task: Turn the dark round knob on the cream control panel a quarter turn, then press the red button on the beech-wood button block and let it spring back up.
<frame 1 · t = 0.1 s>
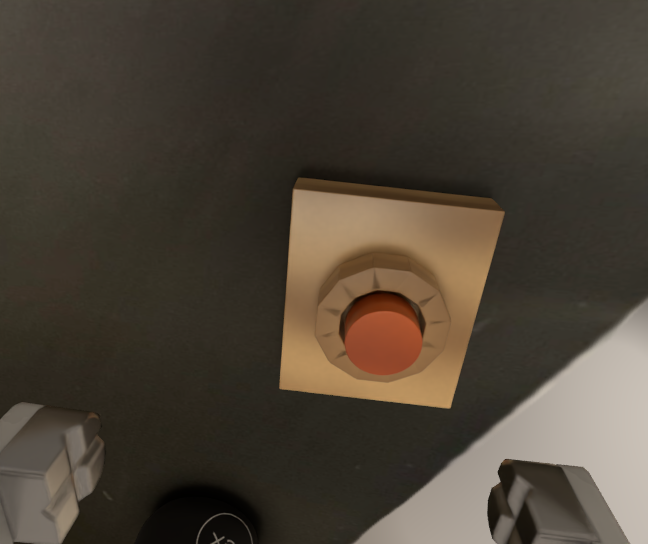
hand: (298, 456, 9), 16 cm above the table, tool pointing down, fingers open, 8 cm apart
mug: (196, 529, 36), on the table
red button: (382, 334, 22), point 4 cm above the table, slide at 0.1 cm
button block: (377, 290, 26), on the table
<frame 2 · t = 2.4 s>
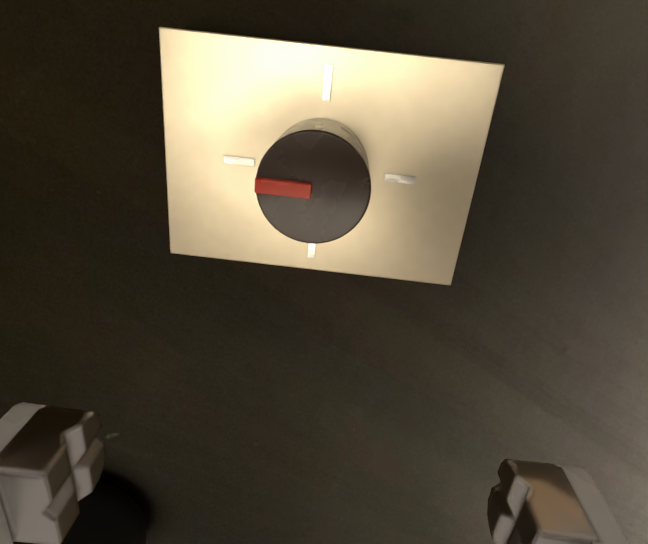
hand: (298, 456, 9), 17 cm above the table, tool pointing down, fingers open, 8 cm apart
mug: (84, 494, 35), on the table
dial knob: (315, 179, 19), point 5 cm above the table, hinge at 0.0°
dial panel: (323, 156, 23), on the table
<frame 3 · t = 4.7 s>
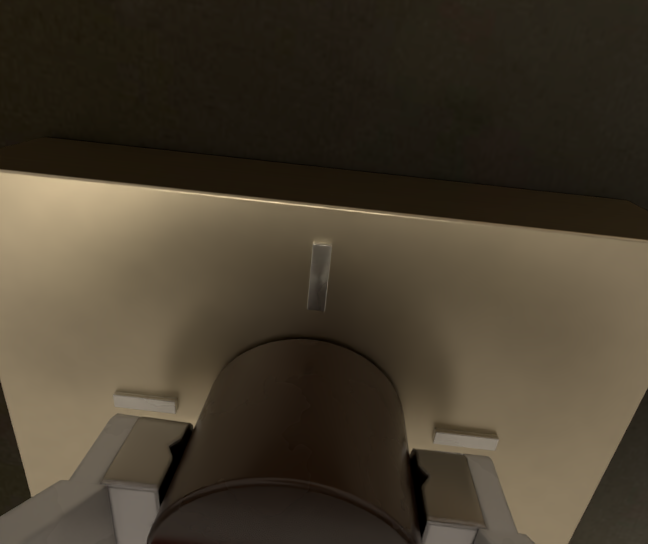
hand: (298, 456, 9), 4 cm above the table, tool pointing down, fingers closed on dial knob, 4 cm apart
dial knob: (295, 492, 9), point 5 cm above the table, hinge at 0.2°, touching gripper
dial panel: (315, 342, 13), on the table
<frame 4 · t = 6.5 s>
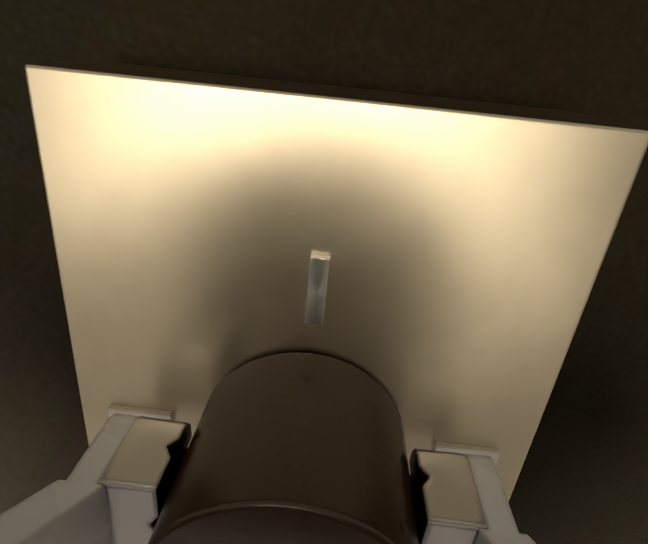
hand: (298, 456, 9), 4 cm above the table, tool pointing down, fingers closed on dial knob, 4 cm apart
dial knob: (292, 510, 8), point 5 cm above the table, hinge at 90.6°, touching gripper
dial panel: (313, 352, 13), on the table
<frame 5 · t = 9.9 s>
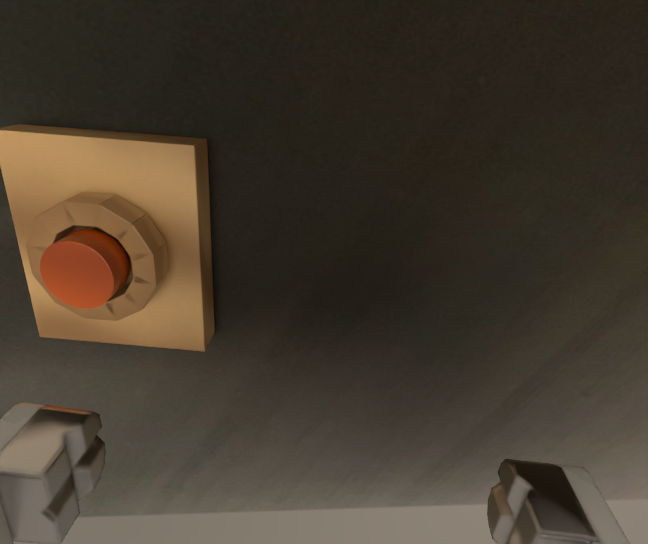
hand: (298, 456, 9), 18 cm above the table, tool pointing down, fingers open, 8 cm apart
red button: (86, 268, 23), point 4 cm above the table, slide at 0.1 cm
button block: (126, 237, 27), on the table
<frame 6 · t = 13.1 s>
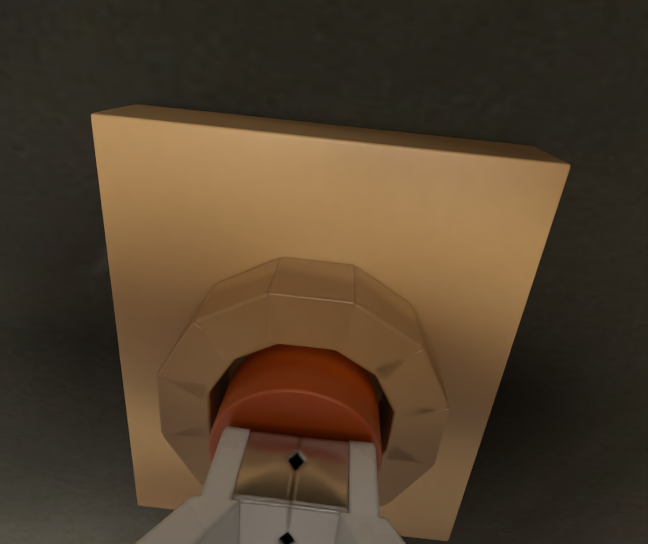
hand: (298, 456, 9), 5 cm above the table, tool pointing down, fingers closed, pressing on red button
red button: (298, 428, 10), point 4 cm above the table, slide at -0.2 cm, touching gripper
button block: (313, 327, 14), on the table
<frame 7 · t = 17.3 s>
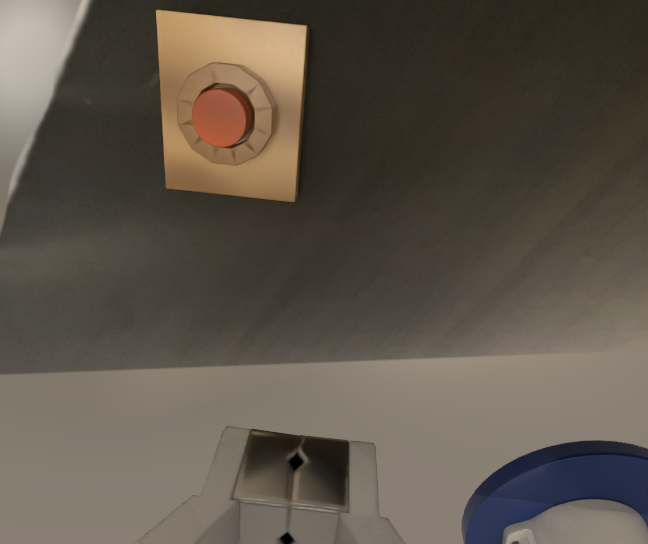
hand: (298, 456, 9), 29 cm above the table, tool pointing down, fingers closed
red button: (222, 117, 30), point 4 cm above the table, slide at 0.1 cm
button block: (237, 110, 34), on the table
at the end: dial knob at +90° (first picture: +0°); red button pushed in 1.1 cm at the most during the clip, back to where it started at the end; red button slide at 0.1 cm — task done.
